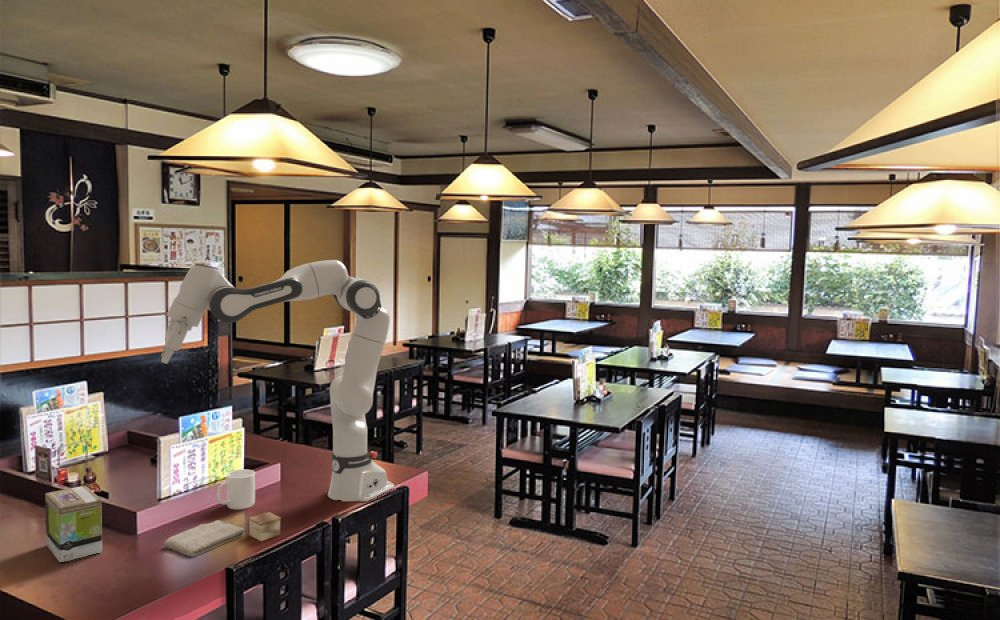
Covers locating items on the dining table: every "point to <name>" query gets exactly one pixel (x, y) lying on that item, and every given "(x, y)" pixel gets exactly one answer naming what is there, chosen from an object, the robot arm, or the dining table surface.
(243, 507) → the cup
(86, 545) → the tea box
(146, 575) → the dining table surface
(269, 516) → the hinoki box
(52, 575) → the dining table surface
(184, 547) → the washcloth
